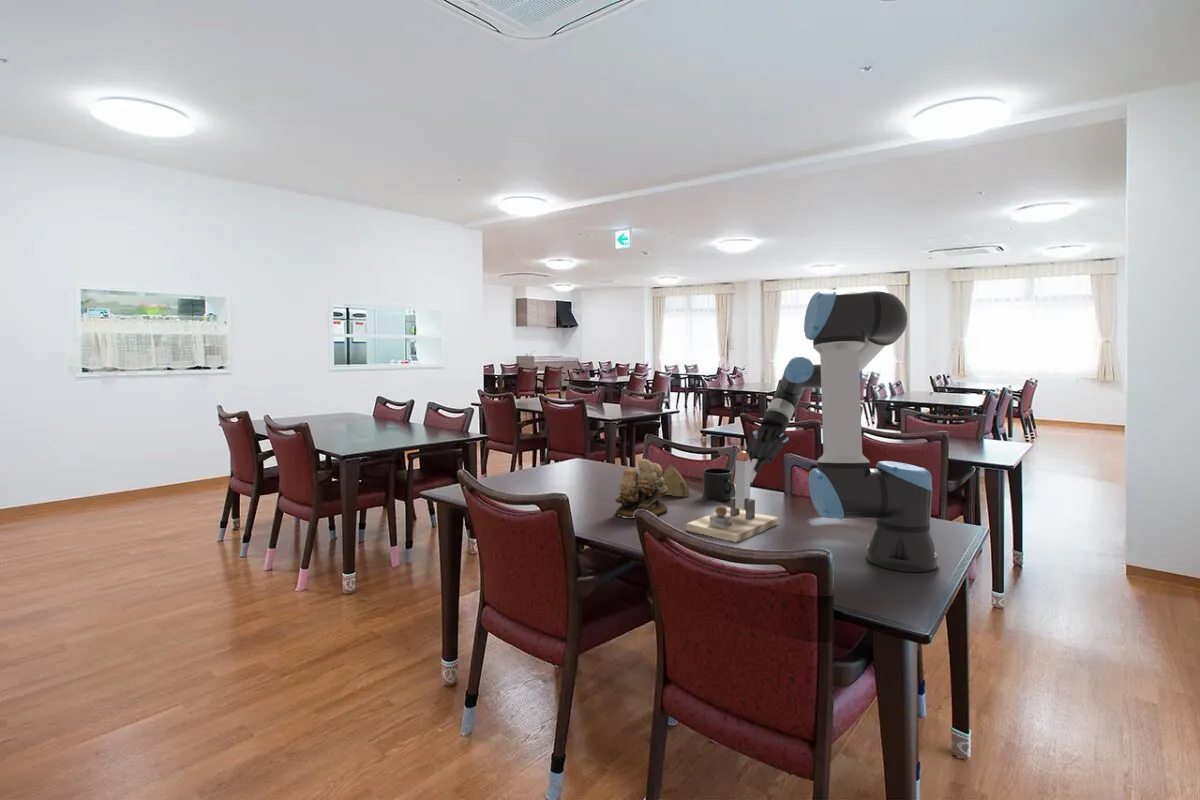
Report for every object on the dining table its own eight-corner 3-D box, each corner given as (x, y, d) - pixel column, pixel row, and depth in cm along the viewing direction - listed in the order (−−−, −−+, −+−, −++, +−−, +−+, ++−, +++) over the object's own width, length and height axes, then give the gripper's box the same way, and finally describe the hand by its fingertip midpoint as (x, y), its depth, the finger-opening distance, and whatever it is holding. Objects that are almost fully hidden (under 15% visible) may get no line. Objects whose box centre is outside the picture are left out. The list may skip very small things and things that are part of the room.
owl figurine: (656, 504, 200) (656, 452, 198) (677, 513, 189) (678, 458, 188) (607, 512, 191) (607, 458, 189) (627, 522, 181) (628, 464, 179)
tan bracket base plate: (729, 513, 188) (730, 489, 187) (778, 524, 176) (778, 498, 176) (686, 530, 172) (686, 504, 171) (736, 543, 161) (736, 515, 160)
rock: (698, 489, 209) (681, 479, 218) (687, 471, 205) (670, 462, 214) (675, 510, 207) (659, 500, 215) (663, 493, 203) (647, 483, 211)
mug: (719, 504, 198) (720, 476, 198) (697, 496, 209) (697, 470, 208) (742, 500, 203) (743, 473, 202) (719, 492, 213) (719, 467, 213)
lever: (740, 505, 180) (740, 449, 178) (751, 507, 177) (752, 450, 176) (733, 508, 177) (734, 451, 176) (744, 510, 175) (745, 452, 173)
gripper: (801, 426, 187) (773, 490, 177) (762, 422, 196) (733, 483, 186) (793, 410, 183) (763, 475, 172) (754, 407, 192) (723, 469, 182)
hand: (748, 479), depth 179 cm, fingers closed
